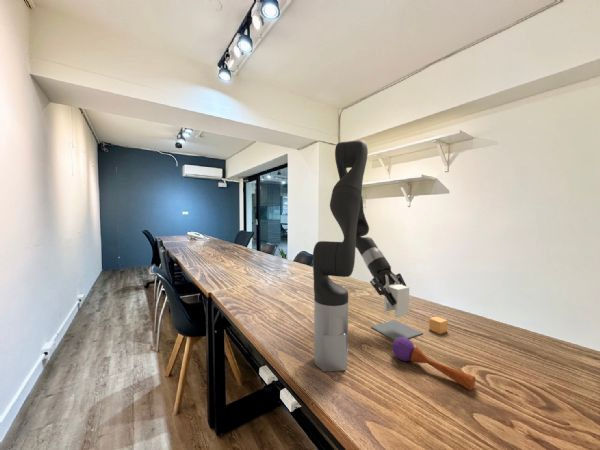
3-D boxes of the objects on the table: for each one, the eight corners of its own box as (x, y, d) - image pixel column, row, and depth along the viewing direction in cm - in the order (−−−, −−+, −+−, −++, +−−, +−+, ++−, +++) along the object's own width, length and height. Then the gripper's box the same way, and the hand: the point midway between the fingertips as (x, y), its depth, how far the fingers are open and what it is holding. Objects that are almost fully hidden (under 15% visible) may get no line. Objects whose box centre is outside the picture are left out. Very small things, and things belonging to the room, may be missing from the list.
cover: (408, 314, 89) (409, 287, 88) (397, 317, 86) (397, 289, 85) (395, 308, 94) (396, 283, 93) (384, 311, 91) (384, 285, 90)
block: (447, 331, 90) (447, 320, 90) (440, 334, 88) (440, 322, 88) (436, 327, 93) (436, 316, 93) (429, 329, 91) (429, 318, 91)
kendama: (469, 380, 57) (388, 340, 72) (467, 402, 59) (388, 358, 74) (478, 366, 61) (399, 330, 76) (476, 386, 63) (399, 347, 78)
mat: (422, 334, 88) (422, 332, 87) (398, 342, 82) (398, 341, 82) (394, 320, 98) (394, 319, 98) (370, 327, 92) (370, 326, 92)
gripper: (366, 258, 92) (392, 301, 82) (395, 254, 99) (421, 294, 89) (356, 269, 97) (379, 311, 87) (384, 265, 104) (408, 304, 94)
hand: (400, 302), depth 88 cm, fingers closed on cover, 5 cm apart
